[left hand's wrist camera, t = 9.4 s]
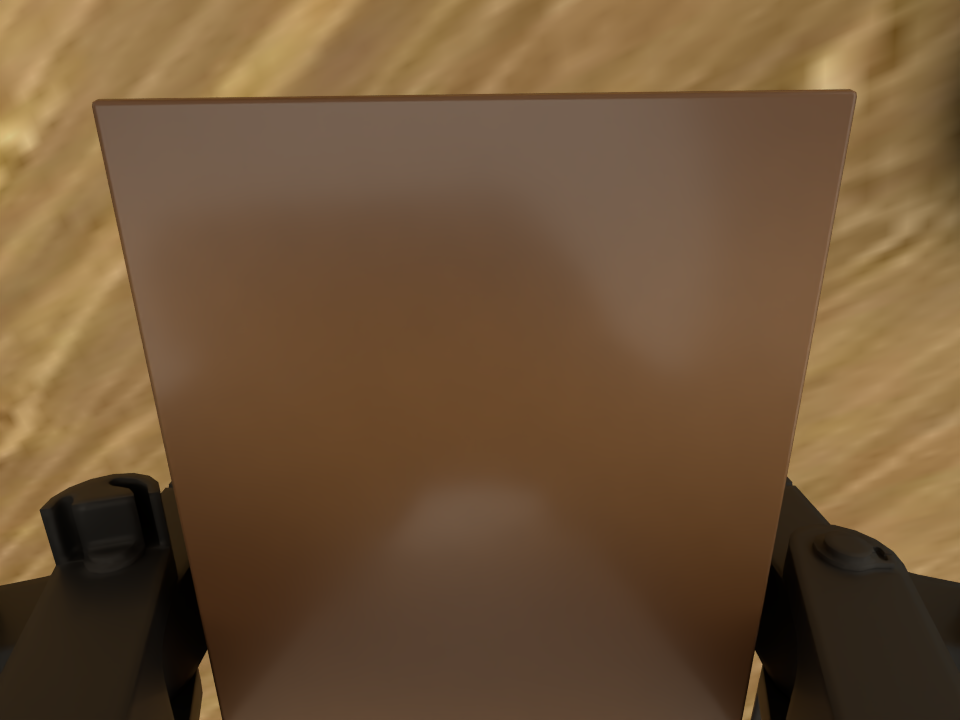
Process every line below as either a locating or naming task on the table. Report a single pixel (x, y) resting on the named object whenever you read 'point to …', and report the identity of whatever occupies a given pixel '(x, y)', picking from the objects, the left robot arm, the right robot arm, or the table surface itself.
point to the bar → (478, 387)
